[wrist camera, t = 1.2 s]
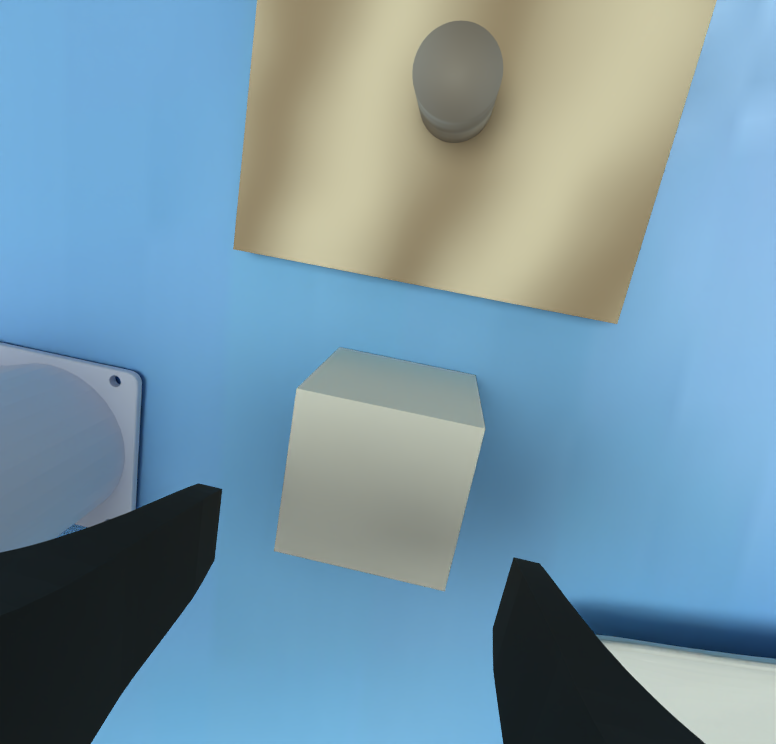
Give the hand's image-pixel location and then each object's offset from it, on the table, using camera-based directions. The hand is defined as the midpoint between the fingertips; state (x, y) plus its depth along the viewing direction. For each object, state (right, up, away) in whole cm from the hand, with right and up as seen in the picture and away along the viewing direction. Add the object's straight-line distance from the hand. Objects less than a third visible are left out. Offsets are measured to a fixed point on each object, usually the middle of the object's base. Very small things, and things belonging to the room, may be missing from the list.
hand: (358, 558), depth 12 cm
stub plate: (+3, +14, +6) cm, 15 cm away
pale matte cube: (+1, +2, +9) cm, 9 cm away
